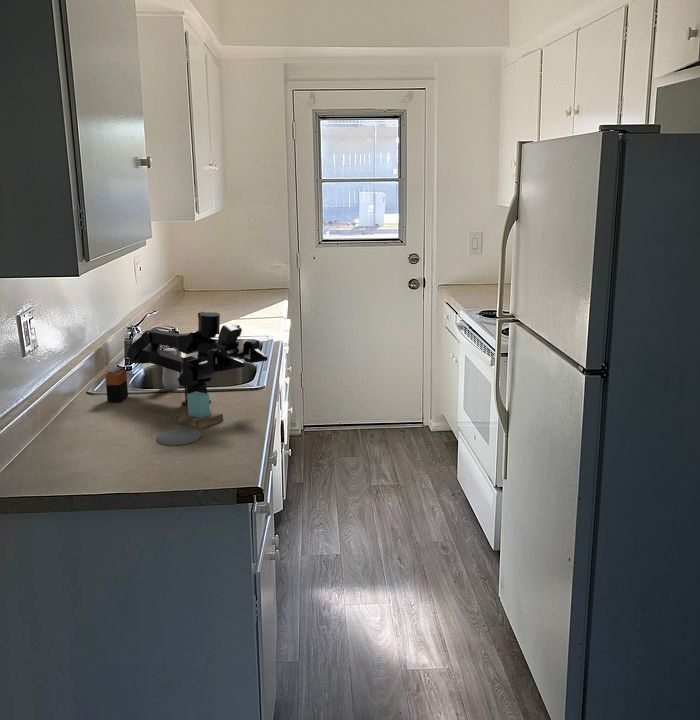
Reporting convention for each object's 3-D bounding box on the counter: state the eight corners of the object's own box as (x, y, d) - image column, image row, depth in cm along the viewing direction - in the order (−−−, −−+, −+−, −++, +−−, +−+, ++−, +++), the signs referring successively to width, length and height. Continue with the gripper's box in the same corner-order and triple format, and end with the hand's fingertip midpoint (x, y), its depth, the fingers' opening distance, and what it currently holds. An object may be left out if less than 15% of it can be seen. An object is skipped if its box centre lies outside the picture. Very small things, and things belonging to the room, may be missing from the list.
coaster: (148, 440, 197) (148, 437, 196) (180, 428, 205) (180, 426, 205) (177, 448, 190) (177, 446, 190) (209, 436, 199) (208, 434, 199)
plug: (188, 421, 212) (187, 394, 210) (197, 418, 214) (196, 391, 212) (201, 424, 209) (199, 397, 207) (210, 421, 211) (208, 394, 210)
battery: (107, 402, 230) (104, 371, 228) (115, 396, 237) (112, 365, 234) (121, 403, 230) (118, 371, 227) (128, 396, 236) (126, 365, 234)
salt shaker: (161, 386, 248) (159, 347, 245) (179, 384, 250) (176, 346, 247) (164, 390, 243) (161, 351, 240) (182, 388, 245) (179, 349, 242)
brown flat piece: (175, 422, 211) (175, 415, 210) (198, 414, 218) (197, 408, 217) (200, 428, 205) (200, 421, 205) (223, 420, 212) (222, 413, 212)
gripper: (192, 327, 210) (233, 339, 201) (239, 318, 224) (279, 328, 216) (191, 366, 213) (231, 379, 204) (238, 354, 227) (277, 366, 219)
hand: (255, 361), depth 211 cm, fingers open, 9 cm apart
